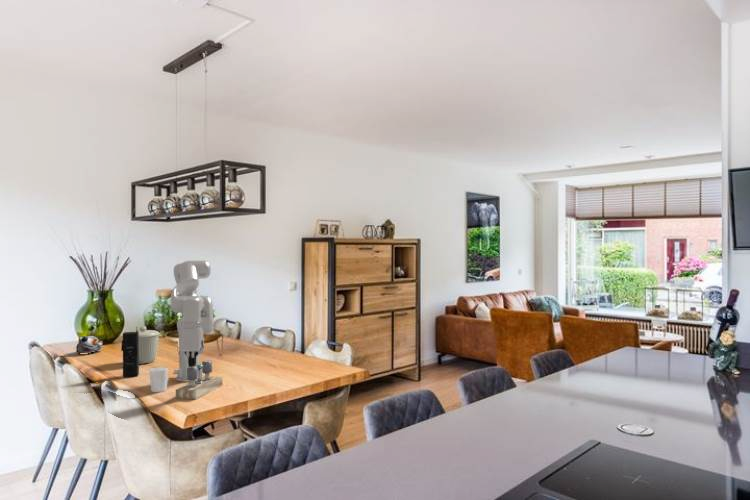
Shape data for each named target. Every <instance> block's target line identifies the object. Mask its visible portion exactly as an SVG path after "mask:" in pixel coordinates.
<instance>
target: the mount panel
mask: <svg viewBox="0 0 750 500" xmlns="http://www.w3.org/2000/svg"><path fill="white" fill-rule="evenodd" d="M197 381H198V379H196V380H195V387H194V388H191V387H190V382H189V383H185V384H184V385H181V386H179V387H177V388H175V399H180V400H181V399H182V400H183V399H184V400H198V399H200V398H202V397H204V396H205V395H208V394H209V393H212V392H213V391H215V390H216V389H218V388H220V387H223V377H222V376H209V380H205V375H204V376H203V377H202V381H203V383H202V384H197Z"/></svg>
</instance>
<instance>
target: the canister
mask: <svg viewBox="0 0 750 500" xmlns="http://www.w3.org/2000/svg"><path fill="white" fill-rule="evenodd" d="M136 331H138V332H139V365H146V364H145V363H147V364H151V363H153V362H155V361H156V359H157V353H158V347H159V338H160V337H159V336H160V335H161V332H159V331H157V330H153V329H147V327H146V326H145V325H143V326H142V325H141V326H140V327H139V330H134V331H133V332H136Z"/></svg>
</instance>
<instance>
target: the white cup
mask: <svg viewBox="0 0 750 500" xmlns="http://www.w3.org/2000/svg"><path fill="white" fill-rule="evenodd" d="M168 378H169V368H168V367H166V366H159V367H158V366H157V367H153V368H150V369H149V381H150V391H151V392H152V393H163V392H165V391H167V389H168V381H169V379H168Z"/></svg>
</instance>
